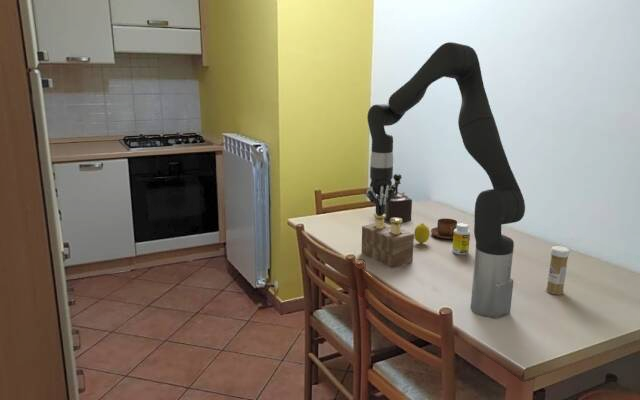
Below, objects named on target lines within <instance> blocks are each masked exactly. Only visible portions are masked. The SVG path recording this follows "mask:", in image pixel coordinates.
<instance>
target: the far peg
mask: <svg viewBox="0 0 640 400" xmlns="http://www.w3.org/2000/svg"><path fill="white" fill-rule="evenodd" d="M373 218H375V223H374V224H375V228H377V229H382V228H384V223H385V219H384V218H386V214H384V215H377V214H376V213H373Z"/></svg>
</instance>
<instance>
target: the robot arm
mask: <svg viewBox="0 0 640 400" xmlns="http://www.w3.org/2000/svg"><path fill="white" fill-rule="evenodd" d="M480 65H481V64H480V60H479V56H478V54H477V52H476V50H475V49H474V48H473V47H471V46H470V45H467V44H463V43H457V42H452V41H451V42H450V41H449V42H445V43H443V44H441V45H440V46H438V47H437V49H436V50H435V51H434V52H433V53H431V55H430V57H428V59H426V61H425V62H424V63H423V64H422V66H421V67H420V68H419V69H418V71H416V73H414V74H413V76H411V78H410V79H409V80H408V81H406V82H405V83H404V84H402V86H400V87H399V88H397V90H396V91H394V92H393V93H392V94H391V95H390V96H389V98H388V103H383V104H381V103H380V104H373V105H372V106H370V108H369V109H368V113H367V117H366V118H367V124H368V130H369V134H370V136H371V155H370V167H369V171H370V172H369V177H370V180H371V181H370V184H369V187H368V189H365V190H364V194H365V195H366V196H367V198H368V200H369V201H370V203H372V204H374V205H375V214H377V215H384V212H385V204H386V202H389V201H390V200H391V198H392V196H393V194H394V193H395V192H396V189H397V187H395V186H393V185H394V184H393V181H392V180H393V179H394V178H393V176H394V136H393V135H392V134H391V133H387V132H386V129H385V127H387V126H393V125H395V124H397V123H399V121H400V120H401V119H402V118H403V117H404V115H405V114H406V113H407V112H408V111H410V110H411V109H412V108H413V107H414V106H416V105H417V104H418V103H420V102H421V100H422V99H423V98H424V96H425V95H426V92H427V90H428V88H429V87H430V86H431V85H432V84H433V83H434V82H436V81H438V80H440V79H442V78H449V79H455V81H456V84H457V86H458V88H459V92H460V95H461V103H460V104H461V105H460V109H459V115H458V119H457V120H458V121H457V123H458V129H459V133H460V137H461V139H462V143H463V146H464V148H465V150H466V151H467V153H468V154H469V155H470V156H471V158H472V159H473V160H475V162H476V163H478V165H479V166H480V167H481V168H482V169H483V170H484V171H485V173H486V174H487V177H488V178H489V180H490V183H491V186H492V189H483V190H482V191H480V193H478V195H477V198H476V200H475V204H474V220H473V221H474V222H473V223H474V224H473V225H474V226H473V229H474V230H473V232H474V233H473V234H474V239H475V253H474V266H473V273H472V274H473V275H472V286H471V287H472V288H471V298H470V299H471V300H470V309H471V310H472V311H473V312H474V313H475V314H478V315H480V316H484V317H488V318H493V319H499V318H501V317H503V316H505V315H509V314H510V313H511V309H512V299H513V289H514V279H513V278H511V275H512V265H513V255H514V248H515V247H514V246H515V243H514V240H513V239H512V238H511V237H509V236H507V235H503V234H502V225H508V224H513V223H517V222H519V221H521V220H522V219H523V217H525V213H526V203H525V199H524V196H523V193H522V190H521V188H520V186H519V184H518V181H517V179H516V177H515V175H514V172H513V170H512V168H511V166H510V163H509V160H508V157H507V155H506V152H505V148H504V146H503V142H502V140H501V136H500V133H499V130H498V127H497V122H496V121H495V120H496V119H495V117H494V114H493V111H492V109H491V108H492V107H491V105H490V103H489V98H488V96H487V92H486V88H485V85H484V82H483V81H484V80H483V76H482V71H481V66H480ZM387 197H388V198H387ZM382 198H383V199H382Z"/></svg>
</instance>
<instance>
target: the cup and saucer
mask: <svg viewBox="0 0 640 400" xmlns="http://www.w3.org/2000/svg"><path fill="white" fill-rule="evenodd" d="M457 224H458V221H457V220H456V219H452V218H445V217H444V218H439V219H437V227H433V228H431V230H430V234H432V235H433V236H435V237H437V238H440V239H444V240H445V239H446V240H453V235H454V230H455V229H456V227H457Z"/></svg>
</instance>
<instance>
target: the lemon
mask: <svg viewBox="0 0 640 400" xmlns="http://www.w3.org/2000/svg"><path fill="white" fill-rule="evenodd" d="M413 234H414V240H415V241H416V242H418V243H419V244H420V245H423V244H424V243H426V242H427V241H428V240H429V238H430V235H431V231H430V229H429V227H428V226H427V225H426V224H425V223H421V224H418V225H416V227H415V229H414V231H413Z"/></svg>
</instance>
